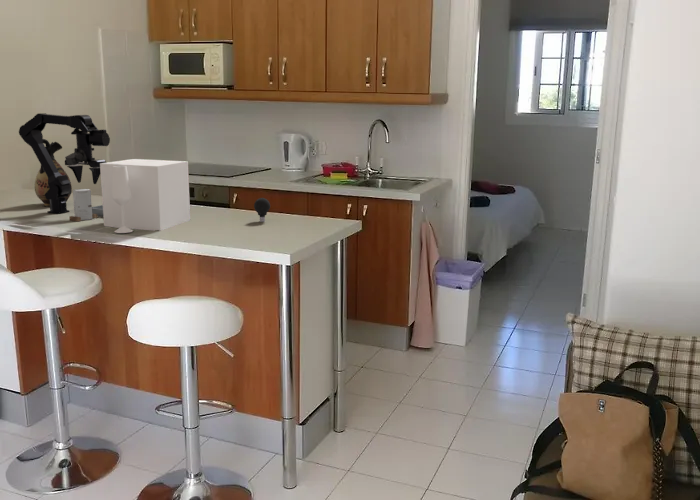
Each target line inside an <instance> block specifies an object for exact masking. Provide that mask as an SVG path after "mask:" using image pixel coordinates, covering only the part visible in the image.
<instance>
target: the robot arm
mask: <svg viewBox="0 0 700 500" xmlns="http://www.w3.org/2000/svg"><path fill="white" fill-rule="evenodd" d="M47 124H50V125H59V126H60V125H61V126H68V127H70V128H71V129H72V128H73V131H71V132H70V135H73V136H74V135H75V137H76V139H75V140H76V148H74V149H73V153H70V154H68V155H66V156H65V157H64V159H65V160H64V166H66V167H67V168H69V169H70V170H71V171H72V172H73V175H74V176H75V179H76V181H77V183H81V182H82V179H83V177H82V176H83V167H84V165H85V166H89V168H88V169H89V170H90V171H91V176H92V177H91V178H92V182H93V184H94V185H97V183H98V181H99V178H100V177H101V173H100V163H107V161H106V160H105V159H96V158H95V157H93V151H95V148H94V147H108V146H109V144H110V143H111V138H110V134H109V133H108V132H107V129H98V127H97V126H96V124H95V123H94V122H93V119H92V117H91V116H90V115H89V114H75V115H61V114H60V115H59V114H51V113H50V114H49V113H41V112H40V113H36V114H35V115H34V116H33V117H32V118H30V119H29V120H28V121H26V122H25V123H24V124H22V125H20V127H19V129H18V134H19V137H21V139H22V140H23V142H24V143H26V144H27V146H29V147H31V150H32V151H33V153H34V154H35V157H36V158H37V160H38V162H39V163H40V167H41V166H42V167H43V169H44V171H45V173H46V175H47V177H48V186H49V190H48V191H47V192H46V193H45V197H46V199H49V202H50V206H49V210H48V211H47V213H49V214H55V215H56V214H63V213H69V212H70V210H67V208H68V207H67V202H66V200H65V198H64V197H68V194H69V192H70V190H71V186H72V182H71V180H70V181H69V180H68V177H69V176H68V177H67V175H68V174H67V175H61V174H60V173H59V172H58V170H57V168H56V166H55V164H54V162H53V160H52V159H51V157H50V155H49V153H48V151H47V149H46V148H45V147H46V145H45V144H44V143H43V139H44V138H43V137H44V136H43V133H42V131H44V130H45V127H46V125H47ZM70 183H71V185H70Z"/></svg>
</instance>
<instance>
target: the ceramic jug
mask: <svg viewBox="0 0 700 500" xmlns="http://www.w3.org/2000/svg"><path fill="white" fill-rule="evenodd" d="M43 144H44V145H45V148H46V149H47V151H48V153H49V155H50V157H51V159H52V160H53V162H54V164H55V166H56V168H57V170H58V172H59V173H60V174H61V175H67V177H68V180H69V181H70V182H71V180H70V178H69V175H68V173H67V172H66V171H65V169H64V168H63V167H62V165H61V164H60V163H59V162H58V161H57V160H56V158H55V155H54V154H55V153H57V152H58V151H60V150H62V149H63V146H62V145H61V144H60V143H59V142H57V141H54V142H53V141H52V142H51V143H50V142H49V140H48V139H44V138H43ZM70 185H71V190H70V192H69V194H68V197H64V198H65V200H66V203H67V202H68V199H70V196H71V194H72V193H73V187H72V186H73V185H72V182H71V183H70ZM48 190H49V186H48V177H47V175H46V173H45V171H44V169H43V167H42V166H41V165H40V168H39V170H38V172H37V174H36V176H35V179H34V192H35V196H36V197H37V198H38V199H39V200H40V201H41V202H42V204H43V206H46V207H47V206H49V207H50V202H49V199H46V197H45V193H46V192H47V191H48ZM37 208H38V207H37Z"/></svg>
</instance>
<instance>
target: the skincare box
mask: <svg viewBox="0 0 700 500" xmlns="http://www.w3.org/2000/svg"><path fill="white" fill-rule="evenodd" d="M72 196H73V197H72V200H73V213H74V215H73V216H75V217H81V221H87V220H93V218H92V207H93V205H92V204H93V203H92V190H91V189H89V188H79V189H76V188H75V189H72Z"/></svg>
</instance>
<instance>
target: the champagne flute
mask: <svg viewBox="0 0 700 500" xmlns="http://www.w3.org/2000/svg"><path fill="white" fill-rule="evenodd" d="M112 198H113V200H114V201H115V202H116V203H117V204H119V205H120V206H121V221H122V226H121V227H120V228H117V229H116V230H114V231H113V232H114V233H115V234H125V233H133V231H134V229H129V228H128V227H126V226H125V216H124V205H125V204H126V203H127V202H128V201H129V200H130V198H131V192H130V185H129V179H128V173H127V166H113V179H112Z"/></svg>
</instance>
